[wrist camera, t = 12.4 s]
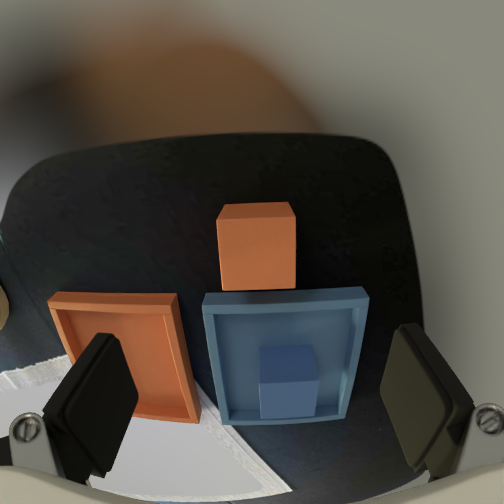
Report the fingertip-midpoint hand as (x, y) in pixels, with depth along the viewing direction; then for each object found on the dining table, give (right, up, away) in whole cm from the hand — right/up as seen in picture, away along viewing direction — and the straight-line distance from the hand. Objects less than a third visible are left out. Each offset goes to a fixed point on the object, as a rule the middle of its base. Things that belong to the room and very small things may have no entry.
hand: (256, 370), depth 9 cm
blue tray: (+3, -6, +17) cm, 18 cm away
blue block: (+3, -6, +16) cm, 18 cm away
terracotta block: (0, +5, +13) cm, 14 cm away
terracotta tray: (-12, -7, +17) cm, 22 cm away
